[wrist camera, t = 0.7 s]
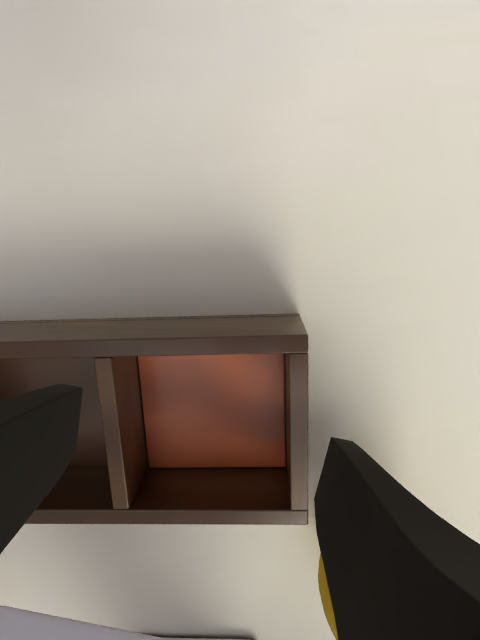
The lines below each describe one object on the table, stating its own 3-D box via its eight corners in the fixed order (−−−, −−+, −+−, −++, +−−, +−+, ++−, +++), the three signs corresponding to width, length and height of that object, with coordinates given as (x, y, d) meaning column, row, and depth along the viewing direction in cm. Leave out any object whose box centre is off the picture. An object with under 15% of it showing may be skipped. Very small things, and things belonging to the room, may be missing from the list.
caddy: (300, 473, 23) (308, 525, 19) (-2, 474, 24) (-54, 524, 20) (299, 313, 21) (308, 334, 17) (-33, 322, 22) (-97, 344, 18)
